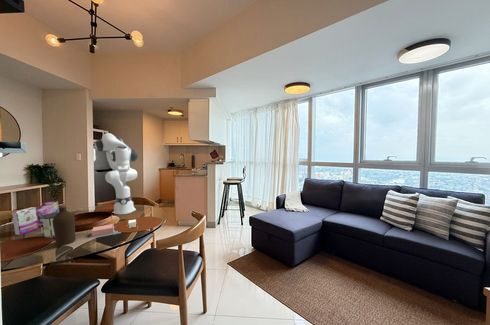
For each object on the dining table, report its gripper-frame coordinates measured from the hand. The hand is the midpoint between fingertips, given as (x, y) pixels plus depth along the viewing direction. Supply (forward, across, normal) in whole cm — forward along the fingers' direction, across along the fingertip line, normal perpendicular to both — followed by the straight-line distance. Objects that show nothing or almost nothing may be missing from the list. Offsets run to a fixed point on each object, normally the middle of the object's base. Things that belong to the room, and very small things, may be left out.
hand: (124, 185), depth 157 cm
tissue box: (+31, -5, -44) cm, 54 cm away
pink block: (+30, +11, -14) cm, 35 cm away
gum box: (+31, -37, -55) cm, 74 cm away
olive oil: (+31, +15, -34) cm, 48 cm away
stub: (+30, +11, +4) cm, 33 cm away
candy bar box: (+31, -19, -62) cm, 72 cm away
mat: (+31, +11, -7) cm, 34 cm away
